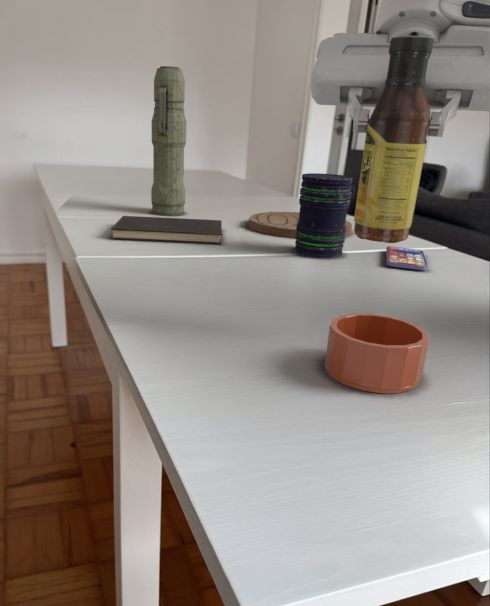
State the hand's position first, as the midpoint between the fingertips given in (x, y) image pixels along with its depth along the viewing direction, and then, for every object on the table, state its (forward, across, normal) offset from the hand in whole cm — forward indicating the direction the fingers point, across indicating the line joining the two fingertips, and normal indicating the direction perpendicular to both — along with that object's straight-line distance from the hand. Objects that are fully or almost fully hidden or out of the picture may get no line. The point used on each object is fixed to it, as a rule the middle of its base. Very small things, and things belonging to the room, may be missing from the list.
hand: (397, 130), depth 57 cm
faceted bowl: (+22, +2, +12) cm, 25 cm away
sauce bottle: (+8, 0, +9) cm, 12 cm away
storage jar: (-16, -12, +51) cm, 55 cm away
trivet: (-34, -21, +68) cm, 79 cm away
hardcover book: (-17, -46, +52) cm, 71 cm away
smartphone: (-18, +5, +52) cm, 55 cm away
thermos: (-36, -57, +70) cm, 97 cm away
